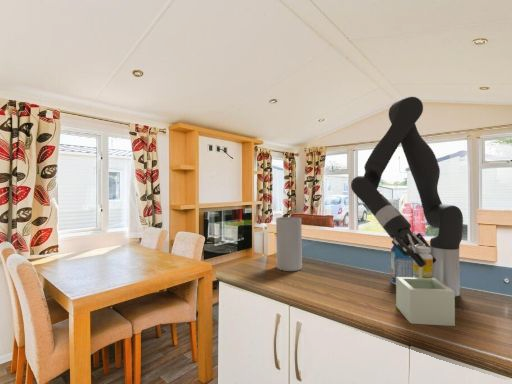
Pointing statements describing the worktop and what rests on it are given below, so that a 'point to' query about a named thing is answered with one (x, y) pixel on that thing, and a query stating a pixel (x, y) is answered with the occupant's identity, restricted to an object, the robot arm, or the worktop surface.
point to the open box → (425, 301)
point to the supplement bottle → (427, 269)
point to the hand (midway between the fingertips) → (428, 263)
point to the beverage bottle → (400, 265)
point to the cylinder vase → (289, 243)
